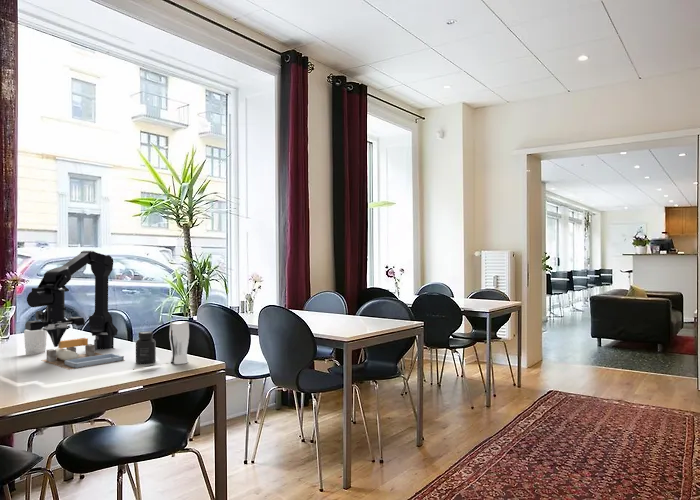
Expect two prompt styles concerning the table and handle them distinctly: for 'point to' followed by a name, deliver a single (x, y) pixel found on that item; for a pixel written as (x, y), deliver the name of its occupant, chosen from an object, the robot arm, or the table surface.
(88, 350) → the board
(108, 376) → the table surface
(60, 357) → the off-white cylinder
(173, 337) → the beer glass
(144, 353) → the supplement bottle
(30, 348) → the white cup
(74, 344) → the tie bar
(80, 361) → the tray
